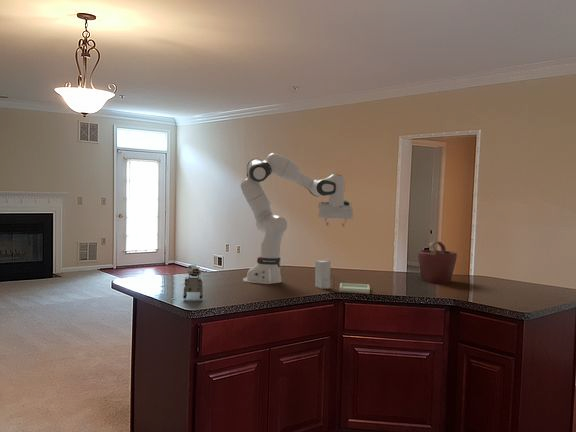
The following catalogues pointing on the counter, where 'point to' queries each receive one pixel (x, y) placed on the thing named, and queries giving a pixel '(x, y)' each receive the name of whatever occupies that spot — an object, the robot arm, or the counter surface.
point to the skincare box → (322, 274)
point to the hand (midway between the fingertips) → (335, 226)
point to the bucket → (436, 264)
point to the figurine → (193, 281)
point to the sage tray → (354, 288)
